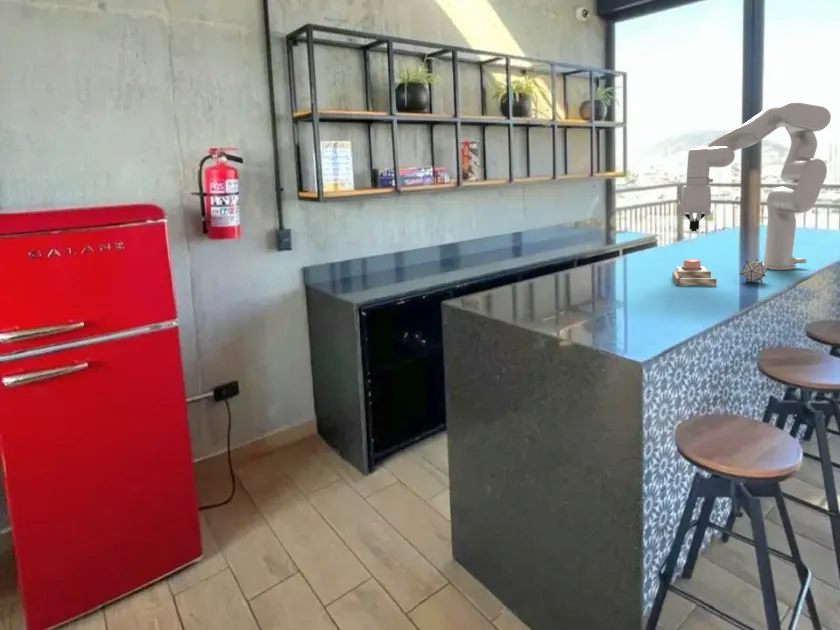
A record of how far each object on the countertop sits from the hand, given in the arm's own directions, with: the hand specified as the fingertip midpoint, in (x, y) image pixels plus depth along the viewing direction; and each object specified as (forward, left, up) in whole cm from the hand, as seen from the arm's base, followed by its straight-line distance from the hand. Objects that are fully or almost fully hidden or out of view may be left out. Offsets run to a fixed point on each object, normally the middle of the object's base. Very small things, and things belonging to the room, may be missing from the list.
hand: (693, 231), depth 222 cm
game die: (-19, +13, -17) cm, 29 cm away
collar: (0, 0, -17) cm, 17 cm away
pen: (0, +13, -17) cm, 21 cm away
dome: (0, 0, -15) cm, 15 cm away
